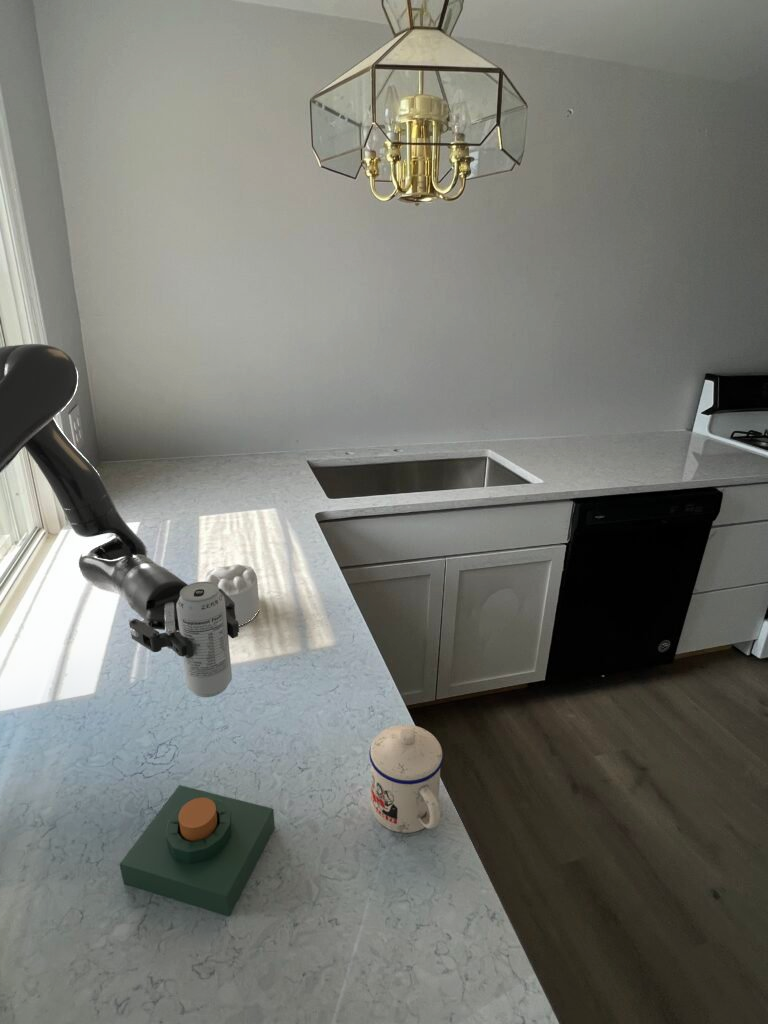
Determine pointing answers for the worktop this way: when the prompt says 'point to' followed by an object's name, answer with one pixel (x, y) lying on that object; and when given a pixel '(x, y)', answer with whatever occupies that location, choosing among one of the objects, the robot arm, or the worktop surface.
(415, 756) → the teacup with lid
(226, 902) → the button base
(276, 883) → the worktop surface
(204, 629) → the energy drink can
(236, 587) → the lumpy-topped squat cylinder
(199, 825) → the orange round push button
